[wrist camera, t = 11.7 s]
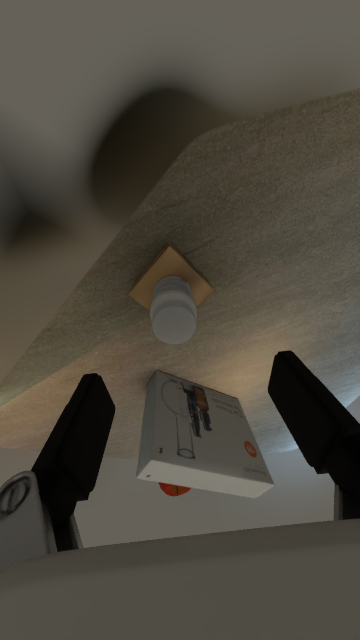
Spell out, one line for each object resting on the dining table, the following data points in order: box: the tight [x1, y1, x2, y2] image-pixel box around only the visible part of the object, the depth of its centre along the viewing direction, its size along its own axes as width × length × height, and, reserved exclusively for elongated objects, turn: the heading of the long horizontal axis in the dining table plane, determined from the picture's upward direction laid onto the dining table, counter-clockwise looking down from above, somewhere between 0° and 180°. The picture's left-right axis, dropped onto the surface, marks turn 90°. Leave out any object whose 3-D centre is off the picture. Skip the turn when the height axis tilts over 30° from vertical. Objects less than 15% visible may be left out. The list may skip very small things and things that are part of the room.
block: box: [128, 242, 215, 311], centre depth 25 cm, size 8×8×4 cm
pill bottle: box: [150, 275, 197, 344], centre depth 19 cm, size 5×5×8 cm
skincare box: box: [136, 370, 274, 498], centre depth 32 cm, size 21×6×16 cm, turn 61°
